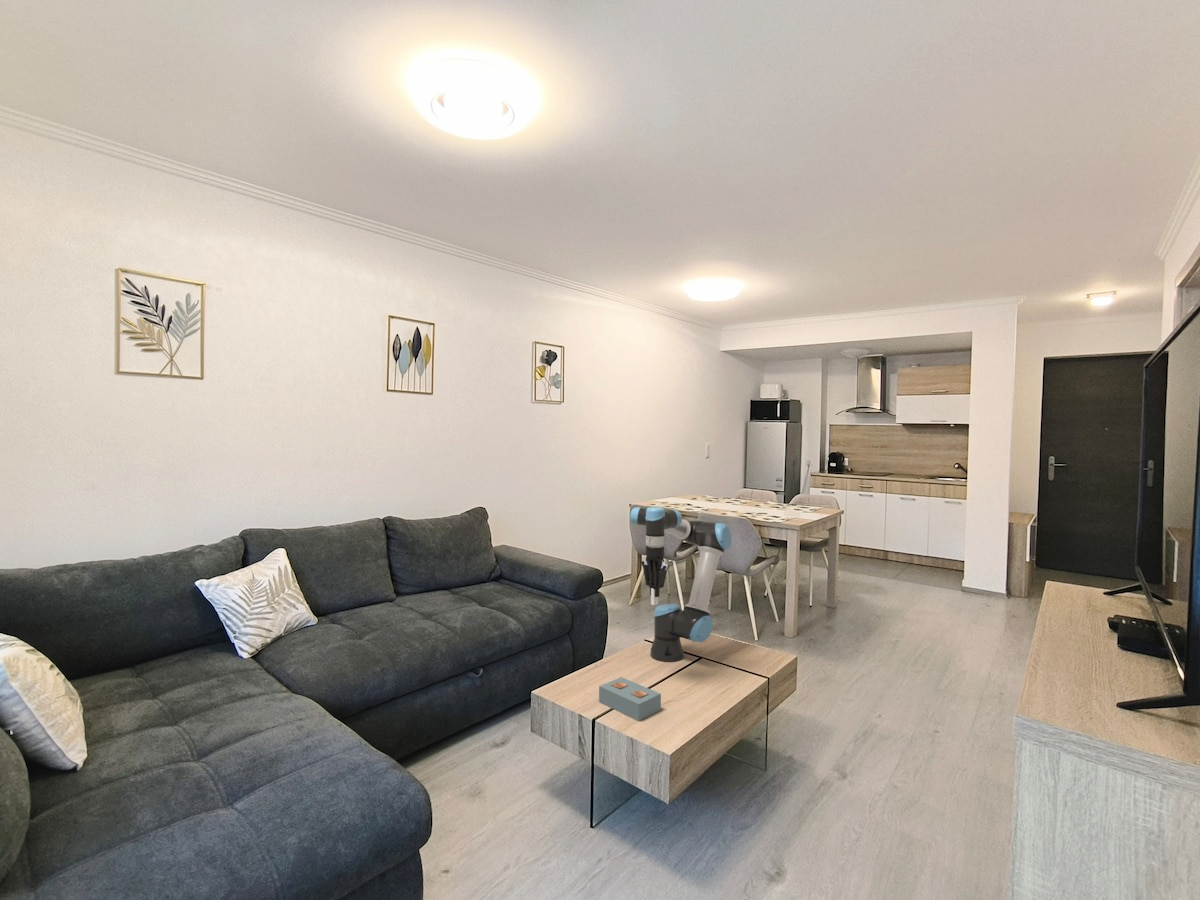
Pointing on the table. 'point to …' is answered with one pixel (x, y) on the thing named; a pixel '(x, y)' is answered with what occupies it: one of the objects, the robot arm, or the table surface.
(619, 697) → the socket block
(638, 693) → the peg
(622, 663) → the table surface
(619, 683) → the peg
